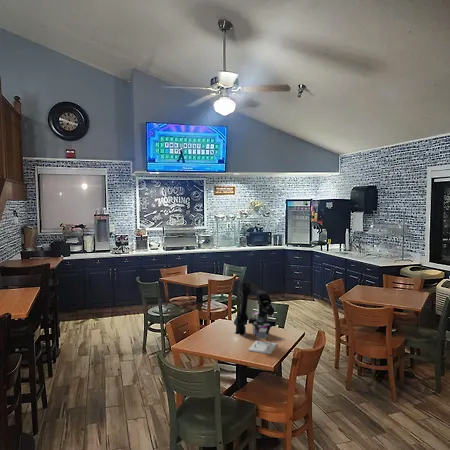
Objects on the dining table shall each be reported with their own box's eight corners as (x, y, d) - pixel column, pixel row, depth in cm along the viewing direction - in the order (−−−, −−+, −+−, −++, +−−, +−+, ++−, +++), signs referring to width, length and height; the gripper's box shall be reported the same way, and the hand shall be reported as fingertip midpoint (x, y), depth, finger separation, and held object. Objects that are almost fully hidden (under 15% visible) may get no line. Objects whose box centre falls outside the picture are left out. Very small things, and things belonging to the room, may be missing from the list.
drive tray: (248, 350, 254) (248, 346, 253) (255, 341, 270) (255, 337, 270) (270, 353, 248) (270, 349, 248) (276, 344, 265) (276, 340, 265)
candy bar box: (265, 332, 291) (265, 310, 290) (268, 334, 287) (268, 312, 286) (252, 334, 287) (252, 312, 286) (255, 336, 282) (255, 314, 282)
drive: (256, 338, 255) (256, 331, 255) (260, 333, 265) (260, 327, 265) (265, 339, 253) (265, 333, 253) (269, 334, 263) (269, 328, 262)
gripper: (245, 313, 254) (245, 336, 255) (273, 316, 247) (273, 340, 248) (250, 309, 264) (250, 331, 265) (277, 311, 258) (277, 334, 259)
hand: (262, 334), depth 259 cm, fingers closed on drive, 6 cm apart
